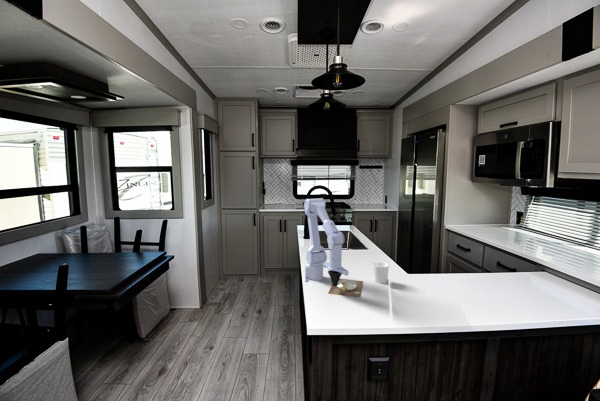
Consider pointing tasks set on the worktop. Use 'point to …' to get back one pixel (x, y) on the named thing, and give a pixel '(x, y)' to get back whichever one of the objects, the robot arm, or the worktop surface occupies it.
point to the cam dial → (346, 285)
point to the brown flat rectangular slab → (349, 293)
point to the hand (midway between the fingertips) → (335, 285)
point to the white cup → (380, 272)
